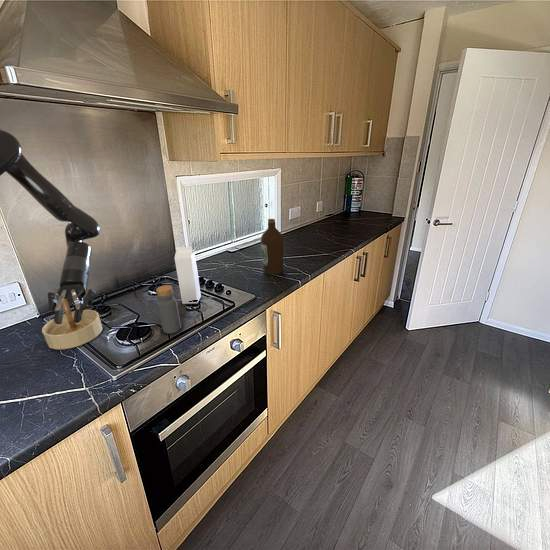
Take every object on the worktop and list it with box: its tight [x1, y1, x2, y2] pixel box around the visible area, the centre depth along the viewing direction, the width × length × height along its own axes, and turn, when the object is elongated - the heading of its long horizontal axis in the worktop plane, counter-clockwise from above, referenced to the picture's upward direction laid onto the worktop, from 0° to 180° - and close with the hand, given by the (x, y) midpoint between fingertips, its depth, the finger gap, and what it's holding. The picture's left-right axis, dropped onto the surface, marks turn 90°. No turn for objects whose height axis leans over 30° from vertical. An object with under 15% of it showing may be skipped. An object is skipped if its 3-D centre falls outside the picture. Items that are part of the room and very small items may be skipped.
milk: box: [174, 246, 202, 305], centre depth 111 cm, size 6×6×22 cm
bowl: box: [41, 309, 104, 350], centre depth 94 cm, size 15×15×6 cm
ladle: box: [61, 299, 83, 334], centre depth 92 cm, size 5×5×13 cm
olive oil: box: [260, 218, 285, 276], centre depth 136 cm, size 11×11×25 cm
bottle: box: [155, 284, 182, 335], centre depth 94 cm, size 6×6×15 cm
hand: (67, 322), depth 91 cm, fingers open, 4 cm apart
